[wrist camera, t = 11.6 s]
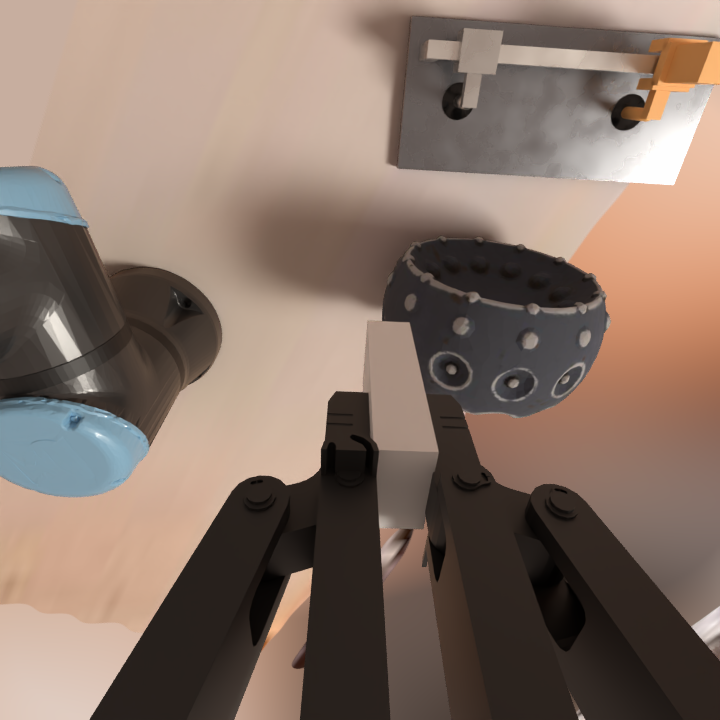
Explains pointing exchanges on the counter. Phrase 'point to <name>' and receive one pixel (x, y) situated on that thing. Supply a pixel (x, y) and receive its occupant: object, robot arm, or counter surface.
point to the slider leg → (676, 73)
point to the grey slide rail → (520, 59)
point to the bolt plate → (543, 111)
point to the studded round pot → (497, 322)
